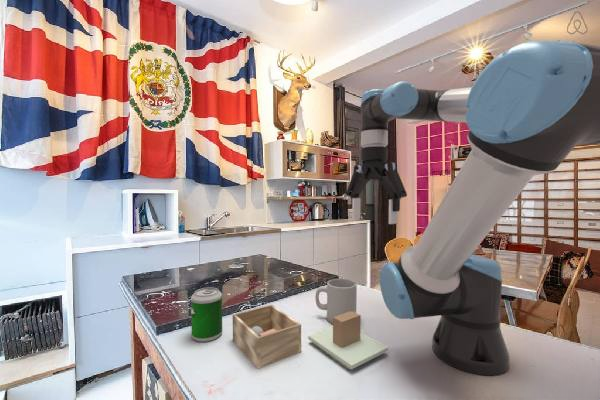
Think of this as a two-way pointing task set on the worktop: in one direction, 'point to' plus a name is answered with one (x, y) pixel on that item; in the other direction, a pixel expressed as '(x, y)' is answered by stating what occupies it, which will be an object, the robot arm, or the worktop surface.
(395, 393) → the worktop surface
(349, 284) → the mug
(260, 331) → the ball
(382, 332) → the worktop surface
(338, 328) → the lid
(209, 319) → the soda can
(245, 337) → the crate
